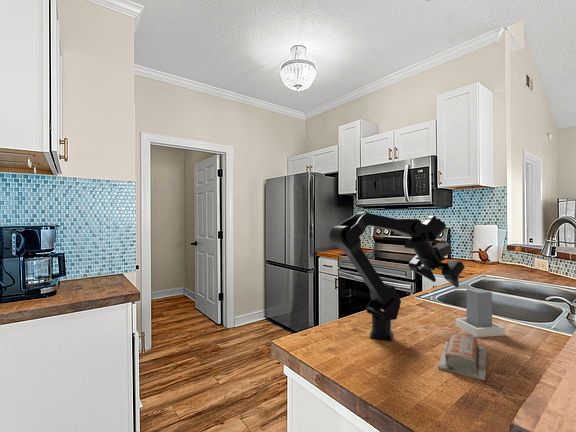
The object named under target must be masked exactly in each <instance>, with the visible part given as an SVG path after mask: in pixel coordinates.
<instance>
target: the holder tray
mask: <svg viewBox="0 0 576 432" xmlns="http://www.w3.org/2000/svg"><path fill="white" fill-rule="evenodd" d="M455 327H457V328H458V329H461V330H463V331H464V332H465V333H466V332H467V333H468V334H469V335H472V336H473V337H476V338H483V337H484V338H485V337H499V336H501V337H503V336H505V333H506V331H505V330H506V328H505V326H502V325H501V324H498V323H495V322H494V321H492V327H484V328H476V327H474V326H472V325H470V324H468V323H467V317H461V318H455Z"/></svg>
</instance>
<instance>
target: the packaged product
mask: <svg viewBox="0 0 576 432" xmlns="http://www.w3.org/2000/svg"><path fill="white" fill-rule="evenodd" d="M437 369H438V370H440V371H444V372H448V373H453V374H457V375H460V376H465V377H469V378H473V379H477V380H481V381H485V380H486V377H487V371H486V369H487V347H486V346H481V345H479V344H478V337H475V336H474V335H472V334H469V333H468V334H451V335H450V336H449V337H448V340H446V341H445V343H444V346H443V350H442V352H441V356H440V359H439V362H438V365H437Z"/></svg>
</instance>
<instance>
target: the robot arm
mask: <svg viewBox="0 0 576 432" xmlns="http://www.w3.org/2000/svg"><path fill="white" fill-rule="evenodd" d="M367 227H372V228H377V229H384V230H388V231H392V232H393V233H394V234H396V235H400V236H402V237H410V238H409V239H405V244H404V248H405V249H411V250H413V251H414V253H415V254H416V255H414V257H412V259H411V260H410V261H409V262H408V268H409V269H410V271H413V272H414V273H417V274H419V275H420V276H423V277H424V278H426V279H427V280H429V281H431V282H433V283H436V282H437V279H436V277H435V274H434V272H433V271H435V270H436V269H437V270H441V274H442V276H443V277H444V279H445V280H446V281H447V282H448V283H450V284H451V285H452V286H453V287H455V288H459V286H460V284H459V275H461V273H462V272H463V270H464V269H465V268H466V266H465V264H464V263H463V261H459V260H454V259H453V260H452V259H449V260H448V262H442V261H445V260H446V256H448V255H451V254H452V253H453V251H452V246H451V243H445V242H436V240H437V239H438V238H439V237H440V236H441V235H442V234H443V232H444V231H445V230H446V228H447V225H446V223H445V222H443V220H440V218H437V217H436V216H435V215H429V216H428V217H427V218H426V220H424V222H423V223H422V220H421V219H418V218H396V217H395V218H394V217H388V216H385V215H380V214H374V213H370V212H368V211H359V212H356V213H355V214H353V215H352V216H351V217H350V218H347V219H346V220H344V221H342V222H341V223H340V224H339V225H334V226H333V227H332V228H331V230H330V232H329V239H330V241H331V242H332V243H333V244H334V246H336V248H337V249H339V250H340V251H341V252H343V253H344V254H345V255H346V256H347V257H348V259H349V261H350V262H351V263H352V265H353V267H354V268H355V270H356V271H357V273H358V274H359V275H360V277H361V279H362V280H363V281H364V283H365V285H366V286H367V287H368V289H369V297H370V298H371V300H369V302H368V303H367V304H366V306H365V310H366V313H367V314H370V315H371V329H370V335H369V338H370V339H377V340H383V341H393V334H394V333H393V331H392V321H393V320H397V319H398V315H399V312H400V307H401V303H402V301H401V298H400V297H401V295H400V294H399V292H398V291H397V289H396V287H395V286H394V285H392V284H389V283H385V282H384V281H383V280H382V279H381V277H380V275H379V274H378V272H377V270H376V269H375V268H374V266H373V264H372V263H371V262H370V260H369V258H368V257H367V255H366V254H365V252H364V251H363V248H362V244H361V243H362V241H361V238H360V236H362V235H363V234H364V233H365V230H366V229H367Z"/></svg>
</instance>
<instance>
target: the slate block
mask: <svg viewBox="0 0 576 432" xmlns="http://www.w3.org/2000/svg"><path fill="white" fill-rule="evenodd" d="M465 291H466V318H467V323H468V324H470V325H472V326H474V327H476V328H484V327H492V322H493V292H492V291H489V290H485V289H484V288H483V289H482V288H467V289H466V290H465Z"/></svg>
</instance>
